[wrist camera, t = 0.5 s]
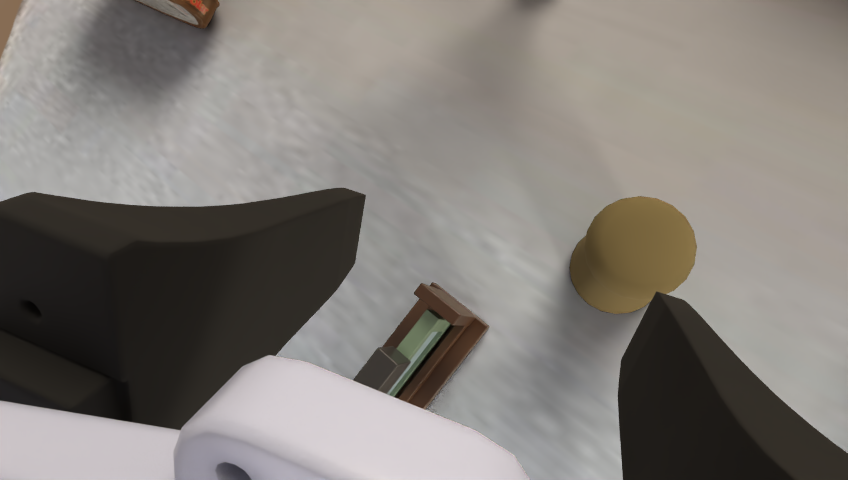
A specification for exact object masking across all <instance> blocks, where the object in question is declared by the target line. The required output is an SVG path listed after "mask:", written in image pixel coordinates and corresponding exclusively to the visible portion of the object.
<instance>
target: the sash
mask: <svg viewBox="0 0 848 480" xmlns="http://www.w3.org/2000/svg"><path fill="white" fill-rule="evenodd" d="M450 326H451V324H450V323H449V322H447V321H446V320H445V319H444V318H443V317H441V316H440V315H439V314H438V313H437V312H435V311H434V310H429V309H427V310H426V311H425V312H424V313H423V315H422V316H421V317H420V319H419V320H418V321H417V322H416V324H415V325H414V326H413V328H412V329H411V330H410V332H409V333H408V334H407V335H406V337H405V338H404V339H403V341H402V342H401V343H400V344H399V346H398V347H397V348H395V347H394V346H390V347H380V348H378V349H377V350H376V351H375V352H374V354H373V355H372V356H371V358H370V359H369V360H368V361H367V363H366V364H365V365H364V367H363V368H362V369H361V371H360V372H359V373H358V374H357V376H356V377H355V378H354V380H353V381H356V382H358V383H360V384H363V385H365V386H368V387H370V388H373V389H375V390H378V391H380V392H383V393H385V394H388V395H390V396H392V397H396V395H397V394H398V393H399V392H400V390H401V389H402V388H403V386H404V385H405V384H406V383H407V381H408V380H409V379H410V377H411V376H412V375H413V374H414V372H415V371H416V370H417V368H418V367H419V366H420V365H421V363H422V362H423V361H424V359H425V358H426V357H427V355H428V354H429V353H430V352H431V350H432V349H433V348H434V346H435V345H436V344H437V343H438V341H439V340H440V339H441V337H442V336H443V335H444V334H445V332H446V331H447V330H448V328H449V327H450Z"/></svg>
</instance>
